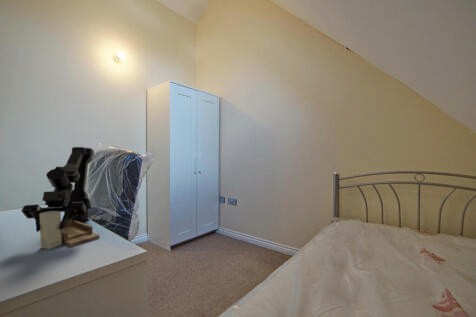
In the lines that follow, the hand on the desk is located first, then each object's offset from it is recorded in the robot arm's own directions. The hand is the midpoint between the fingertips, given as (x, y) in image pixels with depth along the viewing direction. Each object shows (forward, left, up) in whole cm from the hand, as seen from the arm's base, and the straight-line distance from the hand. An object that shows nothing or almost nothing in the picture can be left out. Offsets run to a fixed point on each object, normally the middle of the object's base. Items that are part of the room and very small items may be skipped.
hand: (48, 230), depth 78 cm
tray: (-9, -5, -7) cm, 12 cm away
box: (-1, -1, -7) cm, 7 cm away
